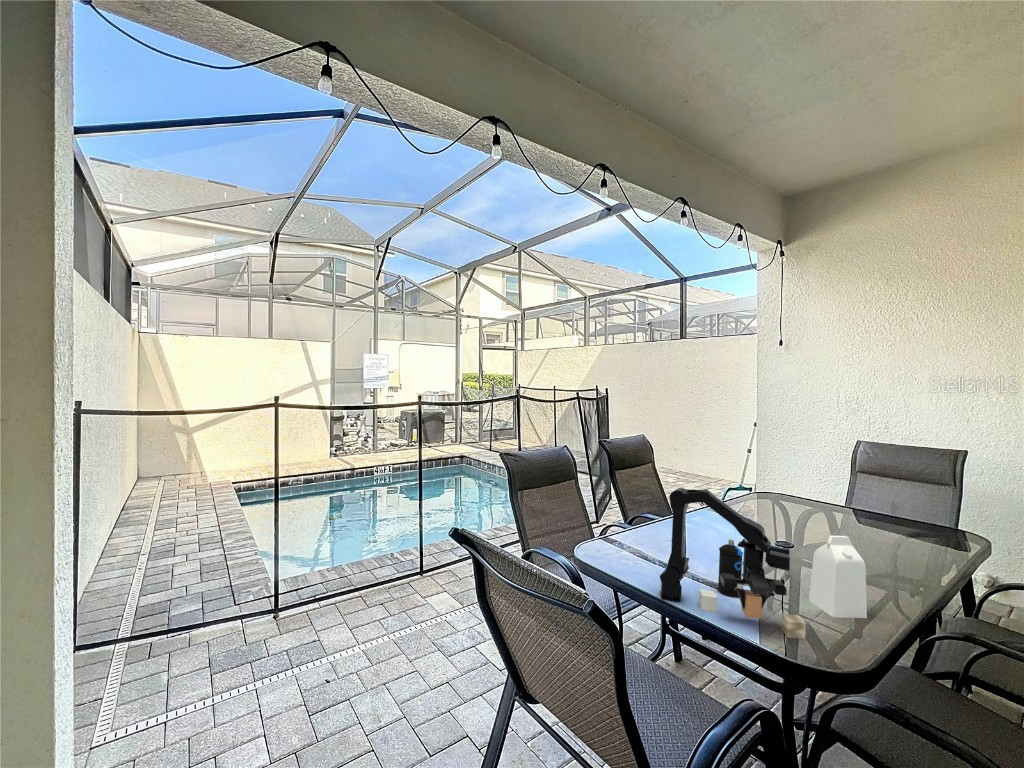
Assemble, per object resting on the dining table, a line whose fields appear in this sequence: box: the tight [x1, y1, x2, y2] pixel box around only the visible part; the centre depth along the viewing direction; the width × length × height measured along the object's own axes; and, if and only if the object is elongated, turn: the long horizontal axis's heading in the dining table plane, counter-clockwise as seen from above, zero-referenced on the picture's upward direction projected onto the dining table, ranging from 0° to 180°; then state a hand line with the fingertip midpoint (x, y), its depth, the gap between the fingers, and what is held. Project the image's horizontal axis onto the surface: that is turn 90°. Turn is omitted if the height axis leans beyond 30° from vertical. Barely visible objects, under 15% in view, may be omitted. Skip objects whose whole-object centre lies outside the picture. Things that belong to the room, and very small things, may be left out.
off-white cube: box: [698, 588, 718, 613], centre depth 150 cm, size 5×5×5 cm
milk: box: [808, 535, 868, 619], centre depth 153 cm, size 12×12×26 cm
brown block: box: [741, 588, 763, 620], centre depth 142 cm, size 4×4×7 cm
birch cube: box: [780, 612, 807, 641], centre depth 135 cm, size 5×5×5 cm
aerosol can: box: [717, 538, 744, 598], centre depth 162 cm, size 8×8×20 cm
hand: (751, 609), depth 142 cm, fingers closed on brown block, 4 cm apart
